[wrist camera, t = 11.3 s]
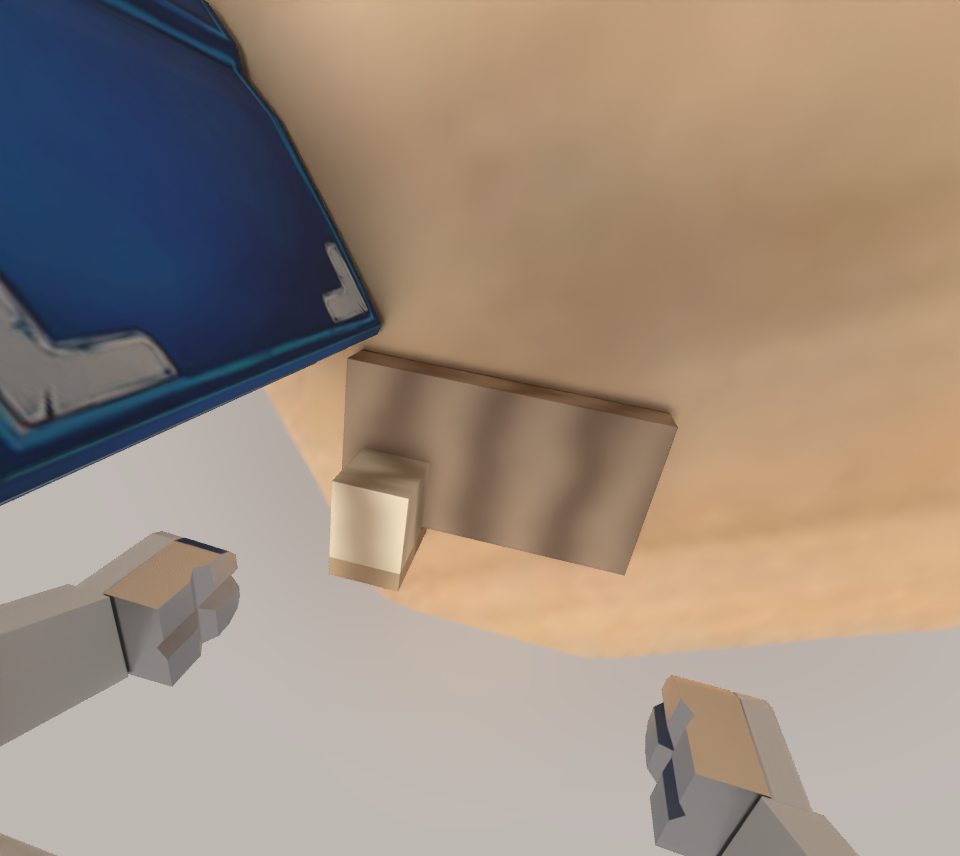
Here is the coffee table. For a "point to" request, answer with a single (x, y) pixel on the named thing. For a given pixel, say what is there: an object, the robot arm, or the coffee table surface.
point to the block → (377, 518)
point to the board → (513, 457)
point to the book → (147, 234)
